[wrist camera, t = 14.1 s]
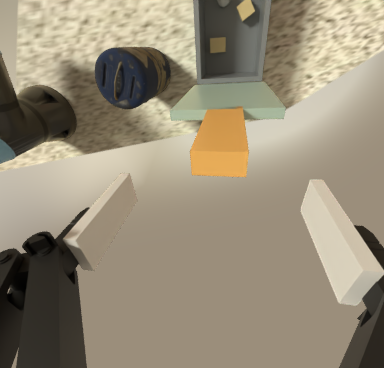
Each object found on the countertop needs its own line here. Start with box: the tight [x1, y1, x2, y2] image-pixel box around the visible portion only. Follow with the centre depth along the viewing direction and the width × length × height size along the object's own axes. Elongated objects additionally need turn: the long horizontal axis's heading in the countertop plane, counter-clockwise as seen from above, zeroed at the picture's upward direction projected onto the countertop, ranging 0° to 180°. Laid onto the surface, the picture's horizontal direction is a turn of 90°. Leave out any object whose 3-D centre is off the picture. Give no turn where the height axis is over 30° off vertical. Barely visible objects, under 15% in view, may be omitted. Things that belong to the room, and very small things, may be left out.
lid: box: [170, 81, 286, 177], centre depth 26 cm, size 13×30×2 cm
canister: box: [95, 47, 170, 109], centre depth 39 cm, size 10×10×18 cm
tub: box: [193, 0, 271, 84], centre depth 36 cm, size 12×18×9 cm, turn 4°
